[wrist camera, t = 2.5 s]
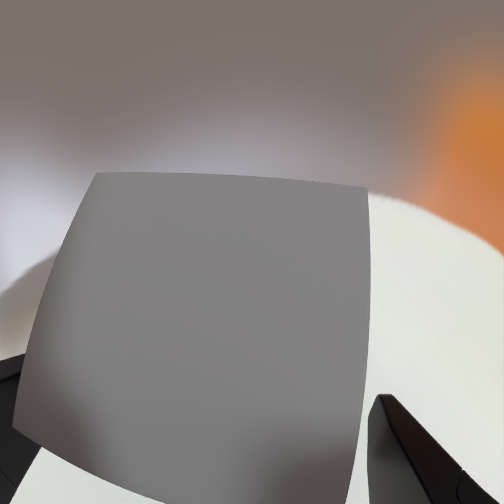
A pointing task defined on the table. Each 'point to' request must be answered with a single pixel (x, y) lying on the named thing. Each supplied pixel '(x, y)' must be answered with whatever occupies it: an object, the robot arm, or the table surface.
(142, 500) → the table surface
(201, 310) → the smooth gray cuboid
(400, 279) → the table surface
